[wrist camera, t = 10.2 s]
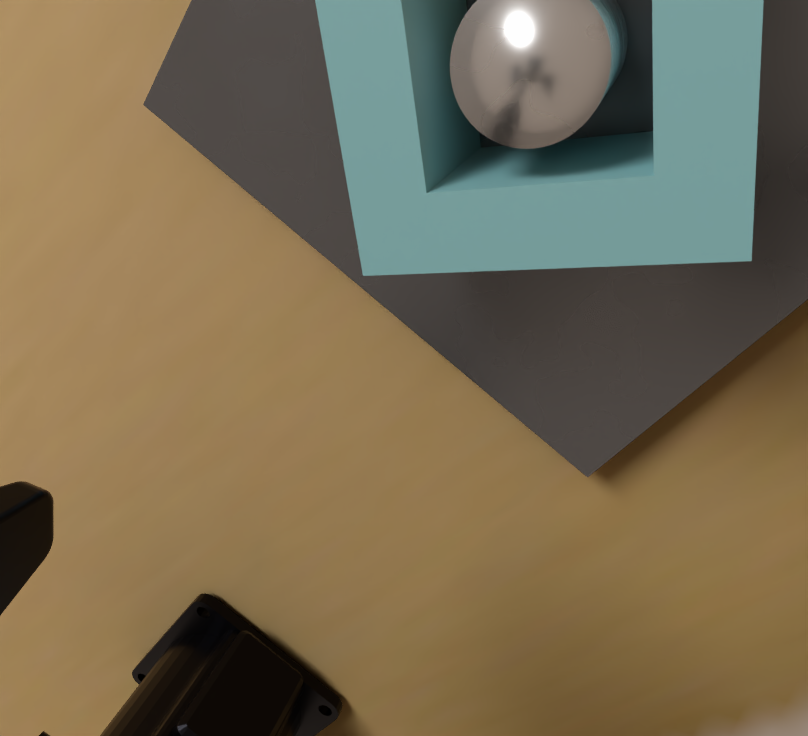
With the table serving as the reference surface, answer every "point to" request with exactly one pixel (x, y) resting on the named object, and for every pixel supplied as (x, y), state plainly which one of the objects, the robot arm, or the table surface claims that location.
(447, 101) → the teal u-channel block
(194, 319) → the table surface
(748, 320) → the base plate
